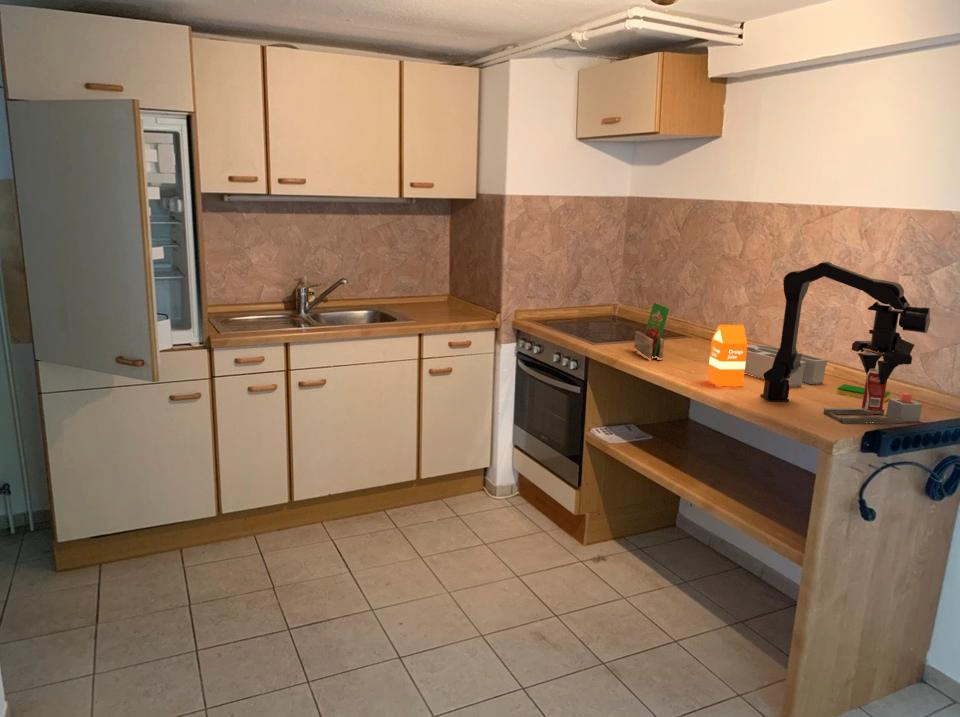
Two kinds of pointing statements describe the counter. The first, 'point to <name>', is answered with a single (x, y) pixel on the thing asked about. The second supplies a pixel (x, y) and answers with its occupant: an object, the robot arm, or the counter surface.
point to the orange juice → (728, 356)
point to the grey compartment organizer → (763, 358)
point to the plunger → (905, 397)
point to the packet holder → (647, 345)
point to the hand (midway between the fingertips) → (876, 381)
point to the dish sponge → (855, 391)
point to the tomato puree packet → (656, 325)
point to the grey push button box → (904, 410)
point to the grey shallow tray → (860, 419)
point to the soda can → (873, 392)
